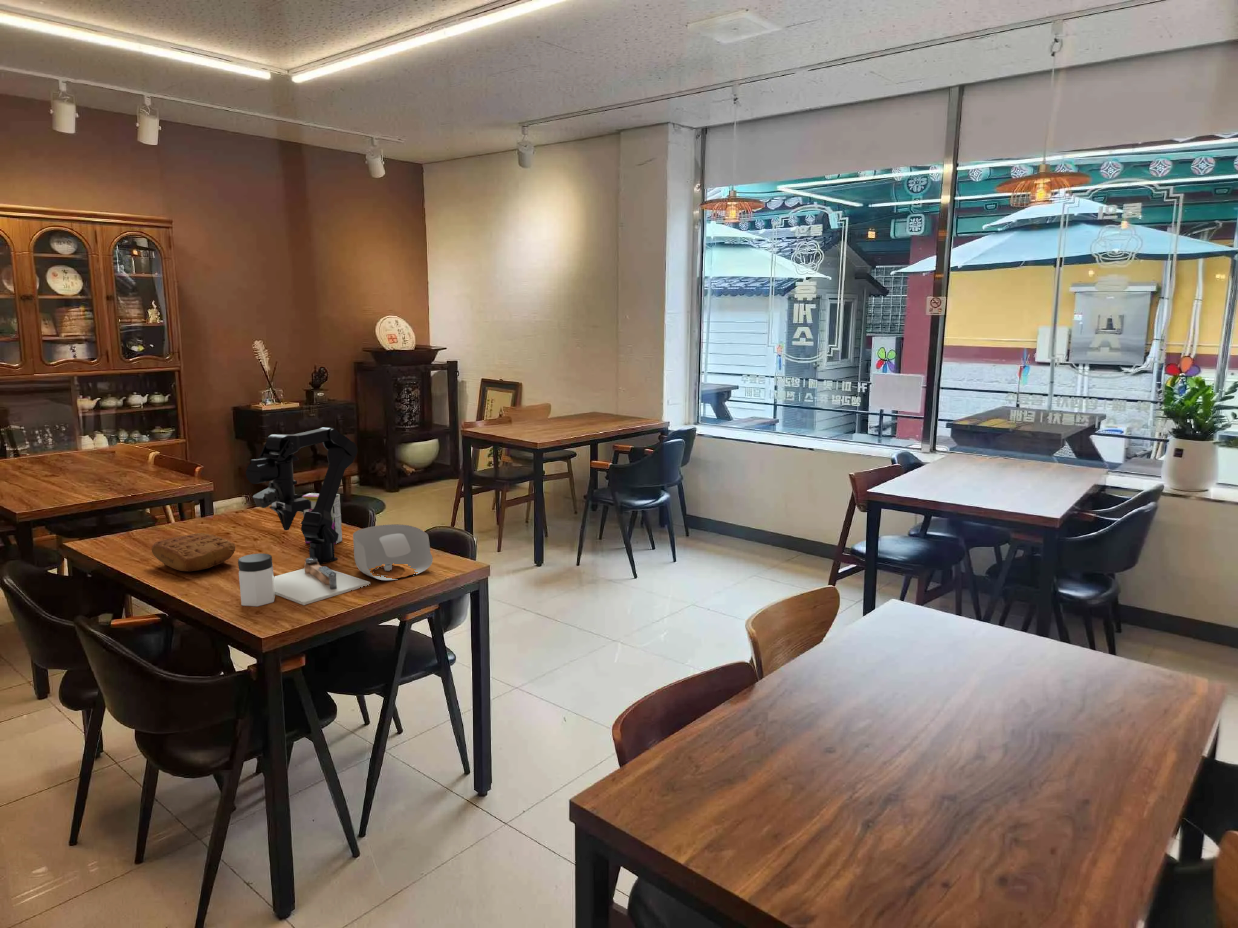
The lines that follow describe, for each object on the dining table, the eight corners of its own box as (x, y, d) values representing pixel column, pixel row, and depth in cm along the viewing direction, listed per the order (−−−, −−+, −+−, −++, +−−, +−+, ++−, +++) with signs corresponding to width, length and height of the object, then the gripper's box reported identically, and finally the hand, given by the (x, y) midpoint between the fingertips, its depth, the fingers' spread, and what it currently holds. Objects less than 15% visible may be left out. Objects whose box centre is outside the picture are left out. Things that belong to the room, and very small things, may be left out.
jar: (267, 593, 215) (264, 551, 213) (282, 600, 210) (279, 556, 208) (234, 602, 209) (230, 558, 207) (248, 609, 203) (245, 564, 201)
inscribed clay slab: (149, 565, 239) (146, 540, 238) (205, 552, 253) (203, 528, 251) (186, 579, 227) (184, 552, 225) (243, 564, 240) (241, 539, 239)
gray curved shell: (404, 557, 249) (402, 521, 247) (434, 571, 235) (433, 533, 233) (342, 570, 236) (340, 532, 234) (371, 586, 222) (369, 545, 220)
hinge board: (317, 567, 238) (317, 564, 238) (370, 584, 223) (370, 581, 223) (251, 585, 222) (251, 582, 222) (303, 605, 207) (303, 602, 206)
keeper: (315, 569, 233) (314, 556, 233) (342, 587, 218) (341, 573, 217) (304, 571, 231) (303, 558, 231) (330, 590, 216) (329, 575, 215)
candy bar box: (304, 543, 263) (301, 495, 260) (311, 539, 268) (308, 492, 265) (336, 544, 262) (333, 496, 259) (343, 540, 267) (340, 493, 264)
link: (302, 570, 231) (302, 562, 231) (316, 568, 234) (316, 560, 234) (323, 585, 218) (323, 577, 218) (338, 582, 221) (337, 574, 221)
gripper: (238, 478, 227) (243, 530, 230) (274, 486, 216) (278, 541, 219) (275, 472, 236) (278, 523, 239) (310, 480, 225) (314, 533, 228)
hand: (286, 530), depth 231 cm, fingers closed
